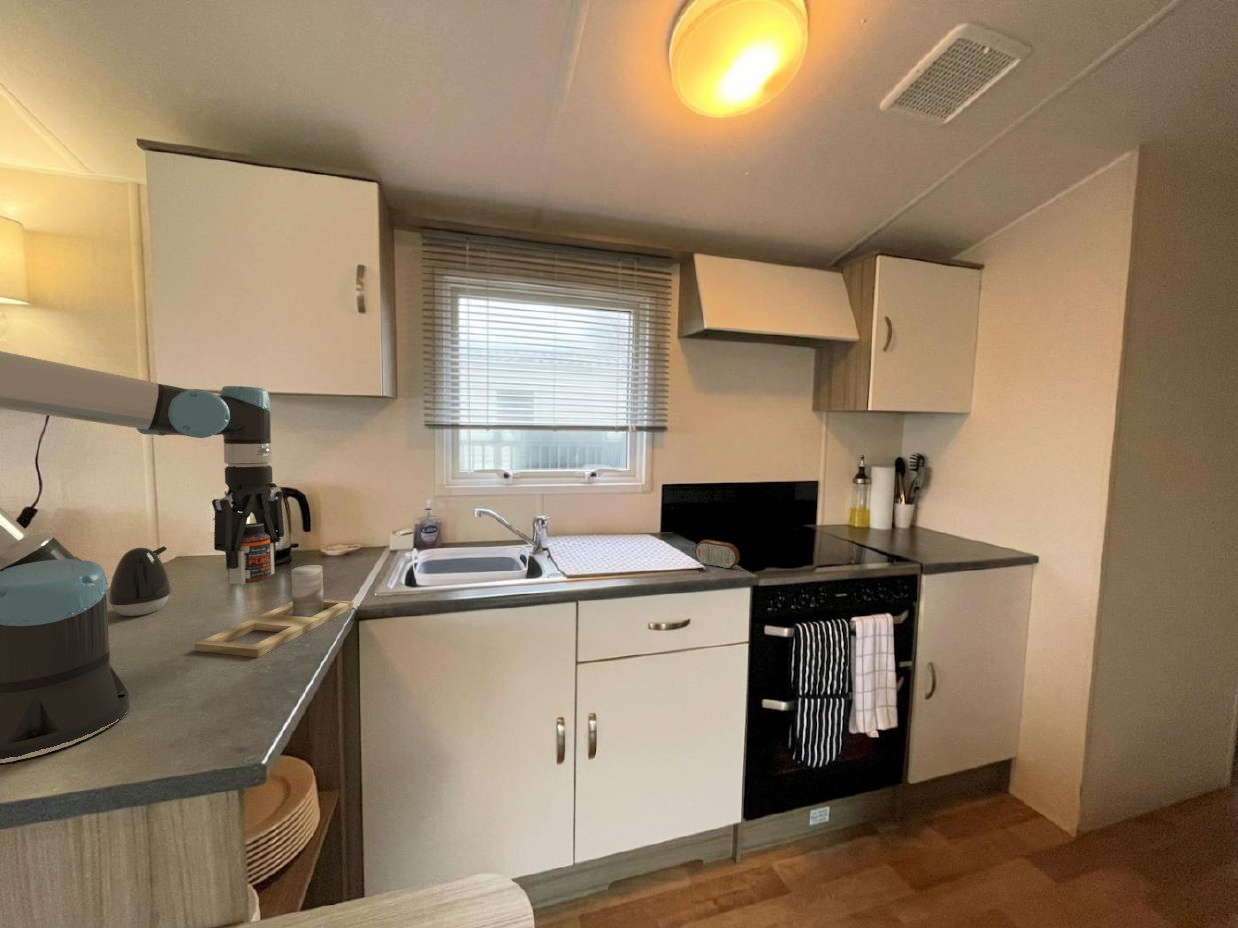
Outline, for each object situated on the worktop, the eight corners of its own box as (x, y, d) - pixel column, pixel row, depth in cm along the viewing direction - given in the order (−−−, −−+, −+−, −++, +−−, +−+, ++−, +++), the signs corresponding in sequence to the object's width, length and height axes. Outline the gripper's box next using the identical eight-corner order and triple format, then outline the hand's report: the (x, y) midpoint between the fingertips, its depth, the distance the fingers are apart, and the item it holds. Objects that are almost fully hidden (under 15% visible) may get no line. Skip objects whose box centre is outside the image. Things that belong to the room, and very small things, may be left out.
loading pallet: (258, 657, 91) (256, 600, 90) (195, 650, 93) (192, 595, 92) (353, 607, 117) (352, 563, 116) (302, 603, 119) (301, 559, 118)
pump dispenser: (183, 606, 115) (180, 544, 114) (129, 623, 105) (125, 555, 104) (153, 601, 118) (151, 540, 117) (98, 617, 108) (94, 551, 107)
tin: (739, 569, 157) (740, 543, 157) (736, 571, 154) (737, 545, 154) (696, 561, 165) (697, 537, 165) (693, 563, 162) (694, 539, 162)
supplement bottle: (251, 585, 94) (248, 528, 93) (226, 582, 95) (224, 526, 94) (278, 576, 99) (276, 522, 99) (255, 574, 101) (253, 521, 100)
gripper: (218, 469, 85) (224, 595, 87) (303, 462, 104) (306, 566, 106) (183, 467, 87) (188, 592, 88) (273, 461, 105) (276, 564, 107)
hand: (252, 578), depth 97 cm, fingers closed on supplement bottle, 6 cm apart
